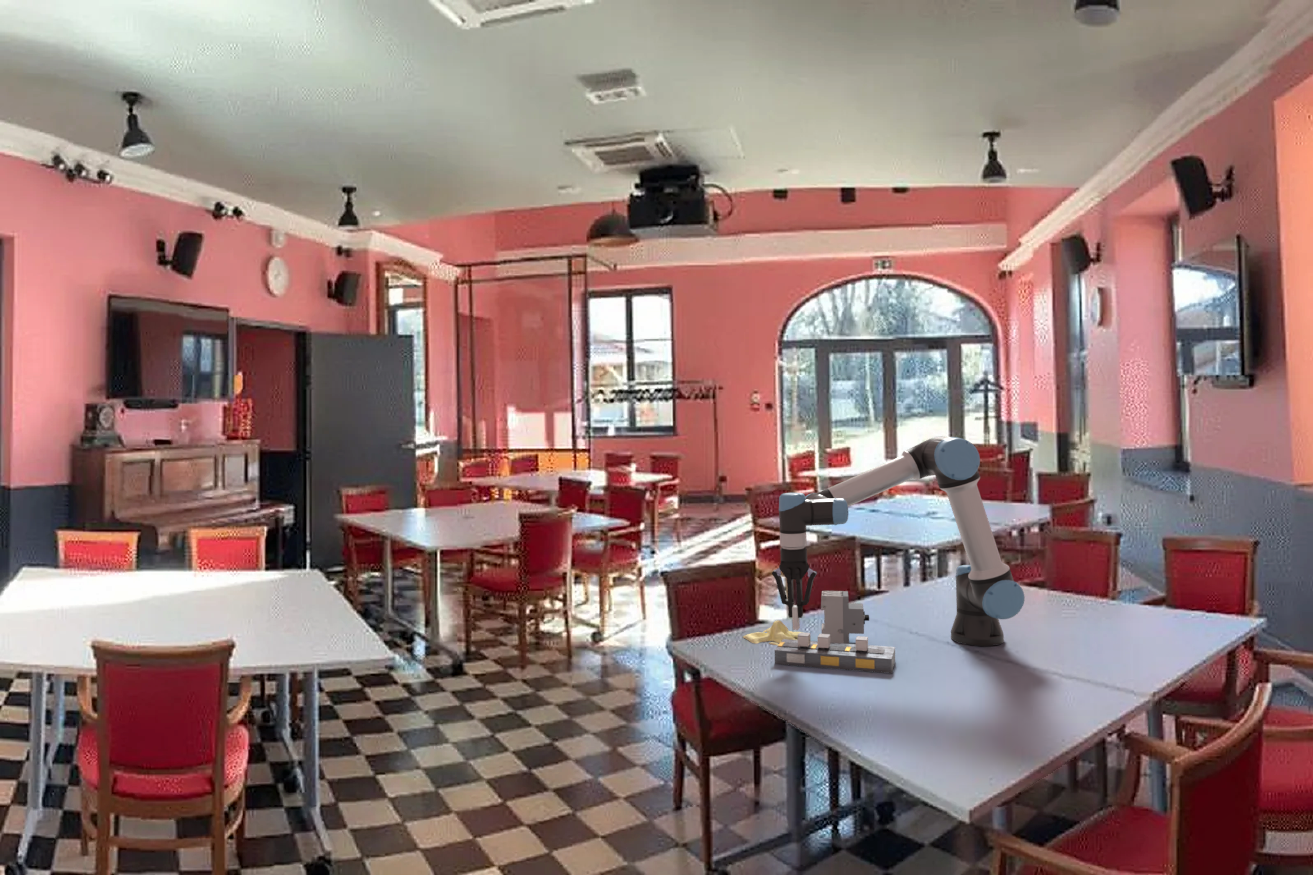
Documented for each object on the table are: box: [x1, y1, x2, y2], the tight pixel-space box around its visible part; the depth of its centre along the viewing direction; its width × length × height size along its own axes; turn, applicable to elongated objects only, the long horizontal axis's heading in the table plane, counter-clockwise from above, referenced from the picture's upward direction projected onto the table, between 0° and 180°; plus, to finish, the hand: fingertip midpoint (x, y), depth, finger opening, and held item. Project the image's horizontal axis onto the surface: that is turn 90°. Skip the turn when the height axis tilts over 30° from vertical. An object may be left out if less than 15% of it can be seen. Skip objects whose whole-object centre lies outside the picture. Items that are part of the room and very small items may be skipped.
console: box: [774, 639, 896, 675], centre depth 238 cm, size 32×12×4 cm, turn 70°
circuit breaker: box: [820, 590, 870, 644], centre depth 259 cm, size 8×14×15 cm, turn 78°
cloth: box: [742, 619, 805, 646], centre depth 265 cm, size 22×19×6 cm
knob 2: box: [817, 633, 830, 648], centre depth 239 cm, size 3×4×3 cm
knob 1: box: [797, 631, 812, 647], centre depth 241 cm, size 3×4×3 cm
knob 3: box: [855, 635, 869, 651], centre depth 236 cm, size 3×4×3 cm
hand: (796, 628), depth 242 cm, fingers closed
